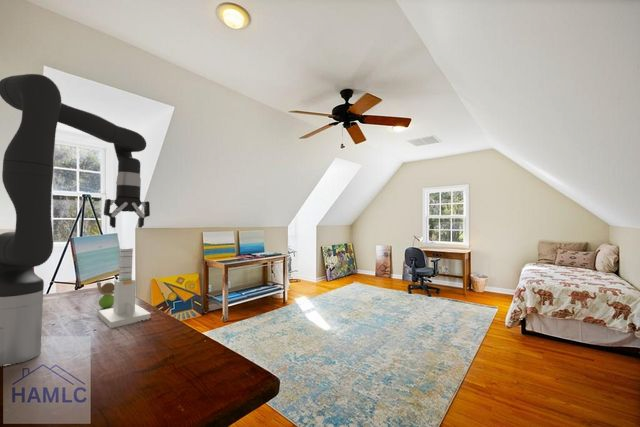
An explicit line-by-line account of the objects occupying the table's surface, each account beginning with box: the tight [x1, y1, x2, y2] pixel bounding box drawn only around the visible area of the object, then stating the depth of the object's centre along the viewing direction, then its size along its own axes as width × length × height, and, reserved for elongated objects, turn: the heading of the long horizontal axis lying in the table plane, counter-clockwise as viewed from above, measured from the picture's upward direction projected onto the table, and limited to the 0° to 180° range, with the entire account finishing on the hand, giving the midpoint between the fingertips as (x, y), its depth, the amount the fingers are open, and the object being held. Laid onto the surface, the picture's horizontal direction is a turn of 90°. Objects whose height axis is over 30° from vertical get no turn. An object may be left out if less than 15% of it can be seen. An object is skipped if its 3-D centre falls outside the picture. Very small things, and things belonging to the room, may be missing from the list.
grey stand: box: [97, 277, 152, 329], centre depth 102 cm, size 18×12×14 cm, turn 50°
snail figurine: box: [96, 279, 114, 309], centre depth 112 cm, size 5×6×12 cm
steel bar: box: [118, 247, 134, 281], centre depth 102 cm, size 3×3×17 cm
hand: (127, 227), depth 103 cm, fingers open, 8 cm apart
